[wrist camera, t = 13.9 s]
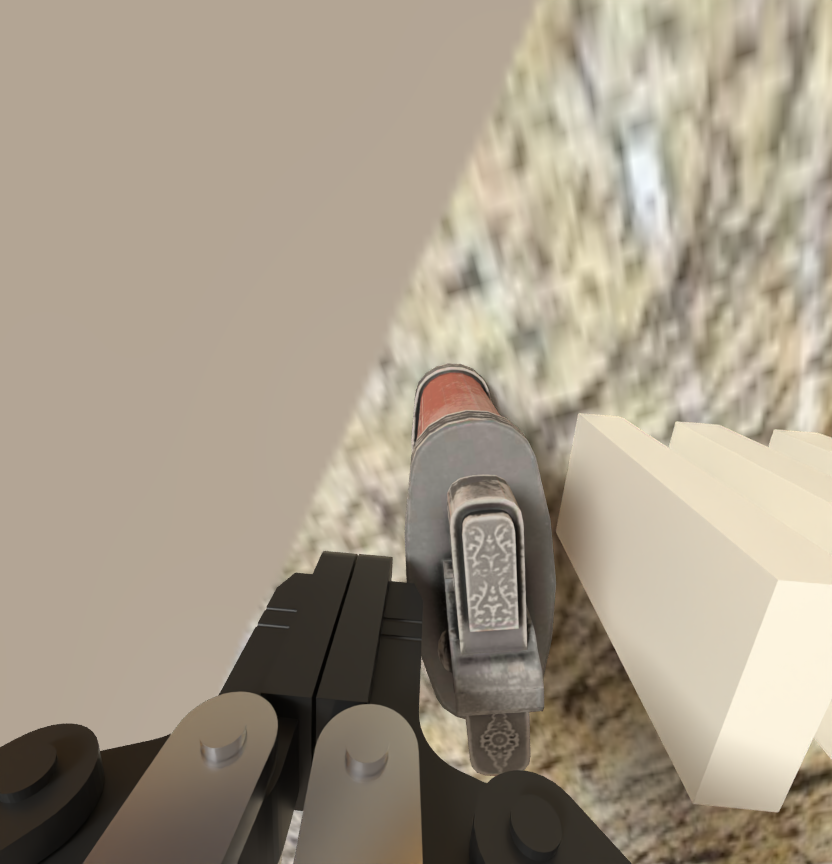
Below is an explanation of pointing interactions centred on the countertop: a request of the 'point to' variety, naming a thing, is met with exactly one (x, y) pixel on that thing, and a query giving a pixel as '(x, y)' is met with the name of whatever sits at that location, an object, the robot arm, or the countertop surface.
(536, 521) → the lighter
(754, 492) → the domino
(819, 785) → the countertop surface
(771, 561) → the domino
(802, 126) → the countertop surface
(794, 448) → the domino
